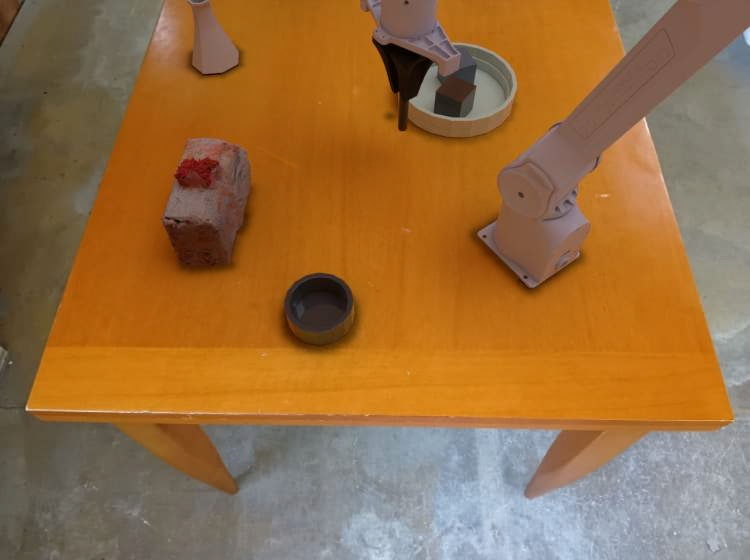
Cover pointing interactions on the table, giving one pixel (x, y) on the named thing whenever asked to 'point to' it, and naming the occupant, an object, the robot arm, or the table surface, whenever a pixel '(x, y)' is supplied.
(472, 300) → the table surface
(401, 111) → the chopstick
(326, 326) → the holder
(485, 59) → the bowl
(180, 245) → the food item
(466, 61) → the slate block
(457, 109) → the walnut block
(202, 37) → the flask
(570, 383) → the table surface
